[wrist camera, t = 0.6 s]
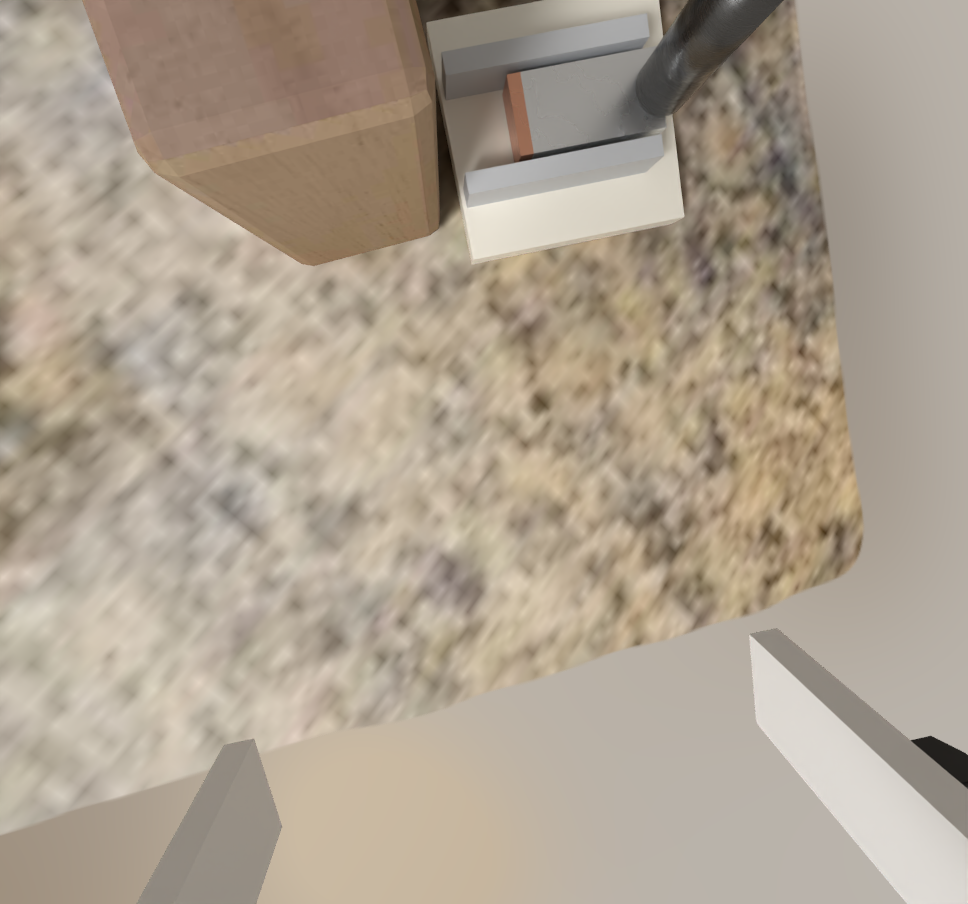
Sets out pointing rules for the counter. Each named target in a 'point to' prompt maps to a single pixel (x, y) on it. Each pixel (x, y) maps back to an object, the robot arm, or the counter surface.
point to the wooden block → (284, 114)
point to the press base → (559, 178)
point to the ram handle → (625, 83)
